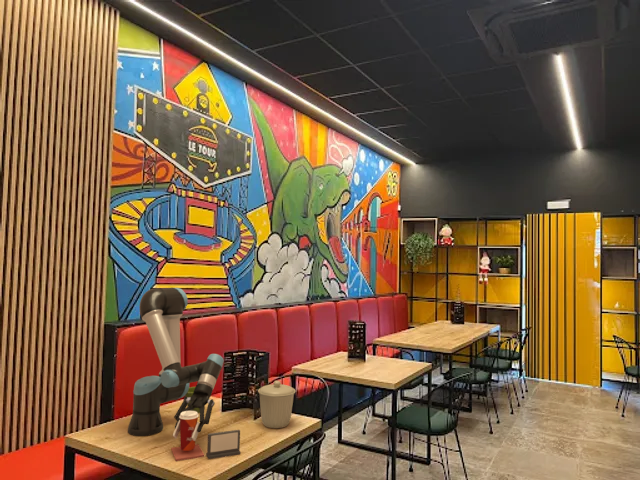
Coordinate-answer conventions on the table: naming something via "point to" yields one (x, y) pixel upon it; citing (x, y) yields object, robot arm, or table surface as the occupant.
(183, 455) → the coaster
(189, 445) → the paper cup
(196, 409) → the plant pot
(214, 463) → the table surface
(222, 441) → the menu holder
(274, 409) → the canister
